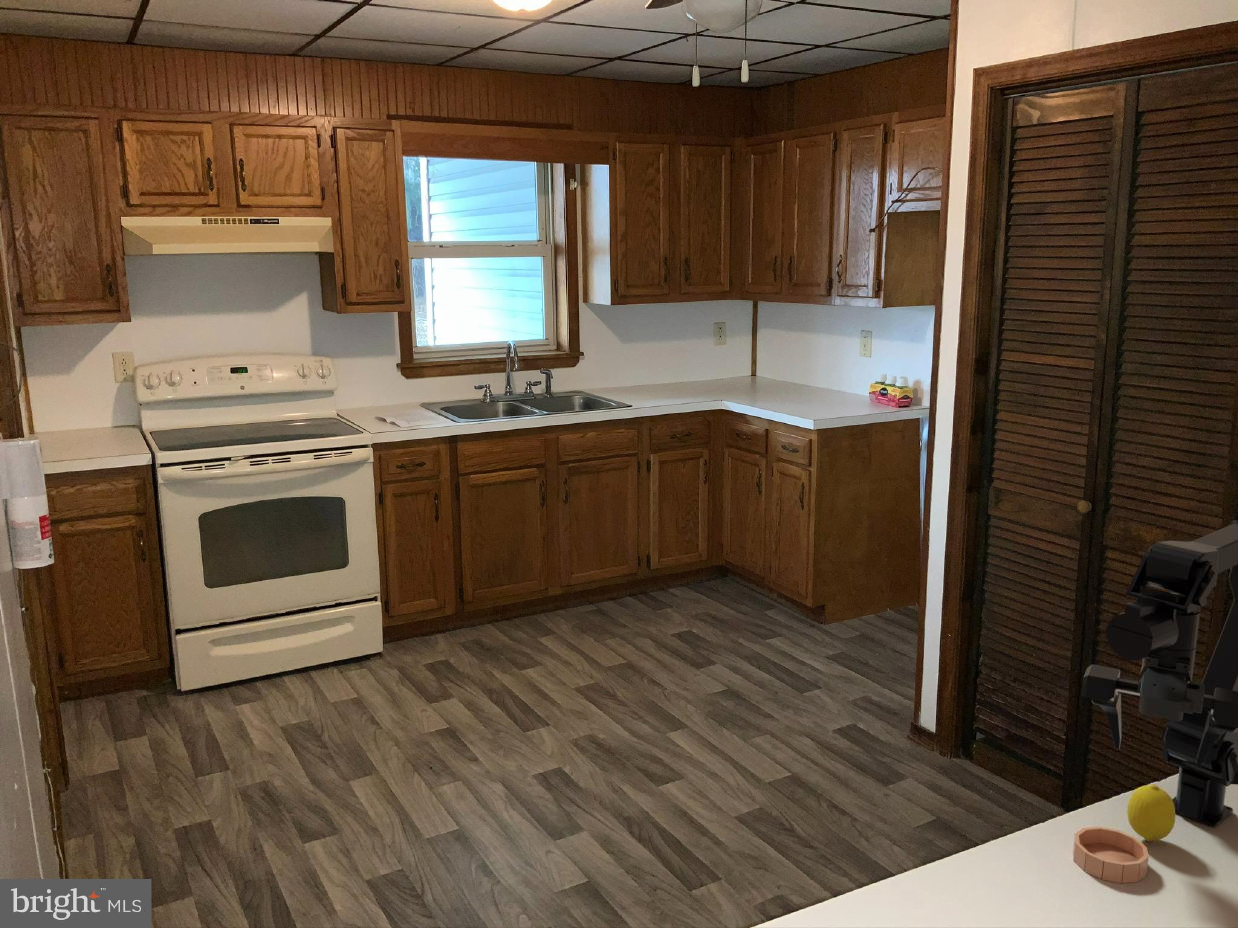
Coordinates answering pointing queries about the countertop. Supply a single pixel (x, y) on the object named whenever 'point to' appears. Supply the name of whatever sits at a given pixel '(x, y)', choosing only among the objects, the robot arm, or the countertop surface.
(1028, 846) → the countertop surface
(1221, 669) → the robot arm
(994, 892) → the countertop surface
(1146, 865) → the dish
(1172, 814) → the lemon
